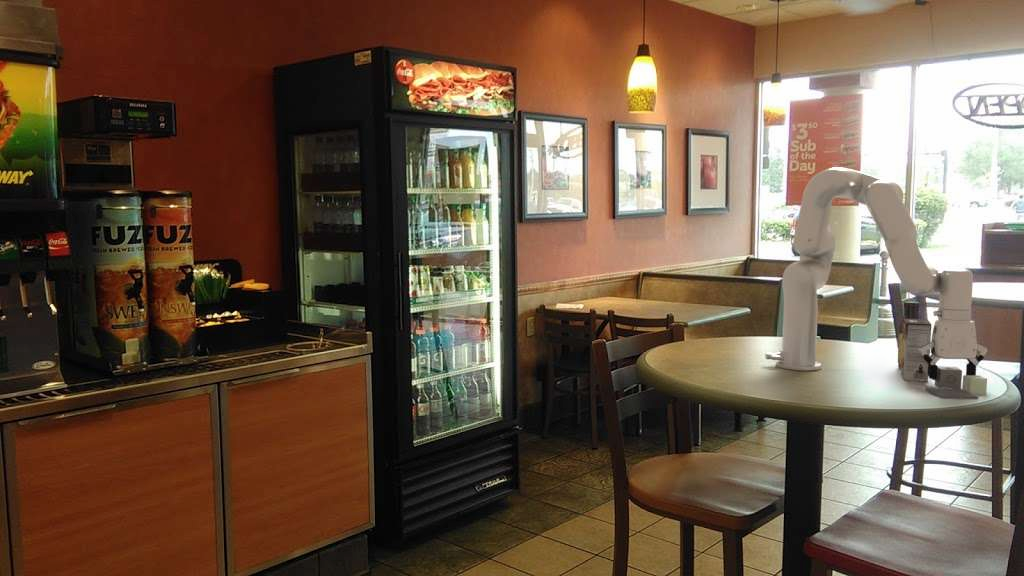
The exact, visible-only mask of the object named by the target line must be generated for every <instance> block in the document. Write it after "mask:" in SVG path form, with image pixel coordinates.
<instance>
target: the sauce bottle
mask: <svg viewBox="0 0 1024 576" xmlns="http://www.w3.org/2000/svg"><path fill="white" fill-rule="evenodd" d="M919 307H920V302H918V301H903V308H904V309H903V310H904V311H903V319H919V320H920V317H919ZM903 319H902V320H901V321H900V323H899V325H898V326H899V329H898V341H897V342H898V343H897V344H898V345H897V363H898V364H897V366H898V369H900V370H901V358H902V339H903Z"/></svg>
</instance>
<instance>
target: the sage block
mask: <svg viewBox="0 0 1024 576" xmlns="http://www.w3.org/2000/svg"><path fill="white" fill-rule="evenodd" d="M987 387H988V378H986V377H983V376H981V375H977V374H976V375H966V374H962V386H961V389H962V390H964V391H967V392H969V393H971V394H973V395H976V394H977V395H980V394H983V395H986V394H987V391H988V390H987V389H988V388H987Z"/></svg>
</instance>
